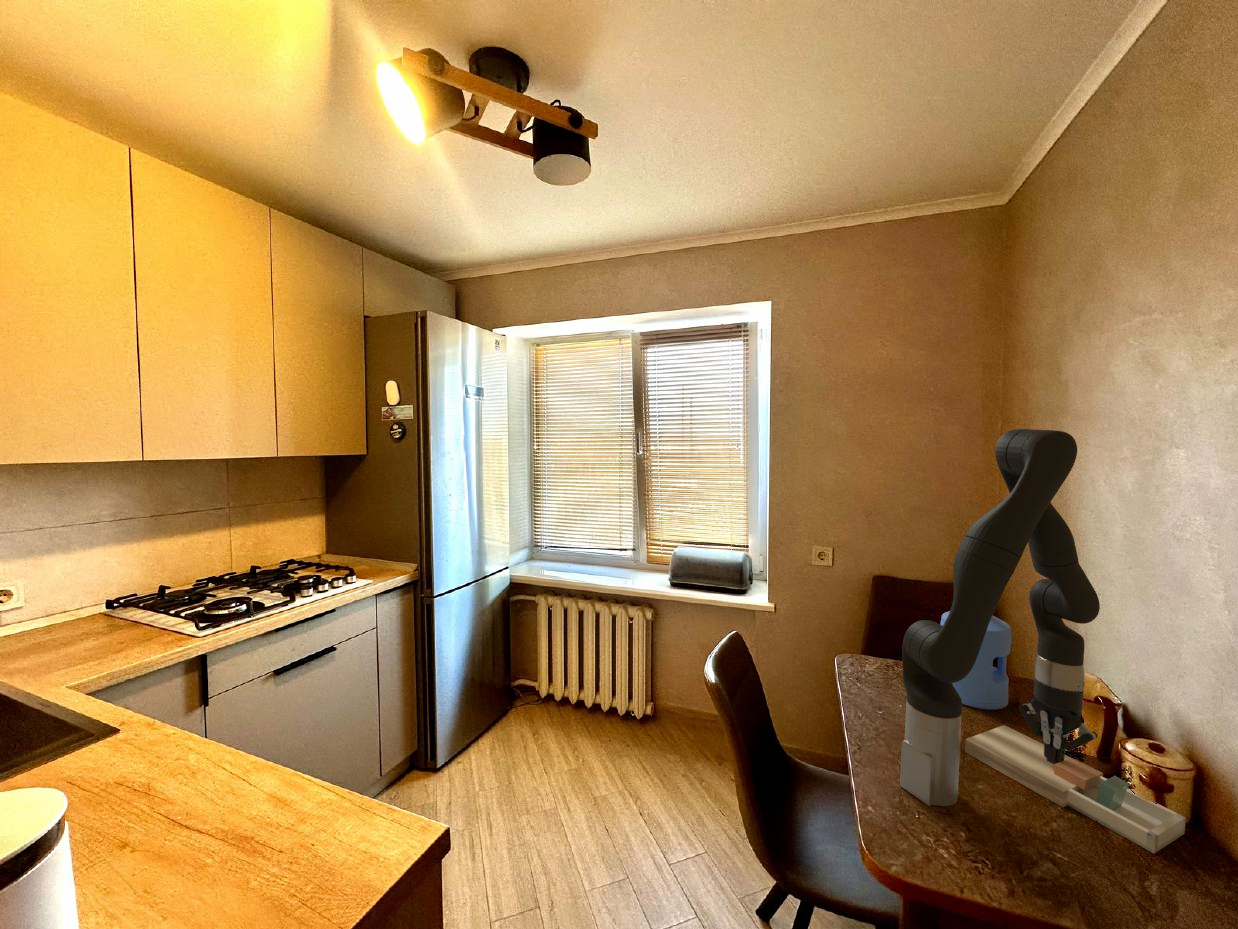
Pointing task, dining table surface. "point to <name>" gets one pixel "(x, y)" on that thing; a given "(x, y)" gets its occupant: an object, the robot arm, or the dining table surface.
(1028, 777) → the birch board
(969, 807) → the dining table surface
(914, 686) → the robot arm
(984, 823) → the dining table surface
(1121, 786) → the teal tile
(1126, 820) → the box
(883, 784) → the dining table surface
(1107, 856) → the dining table surface
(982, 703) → the water jug
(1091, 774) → the terracotta tile
